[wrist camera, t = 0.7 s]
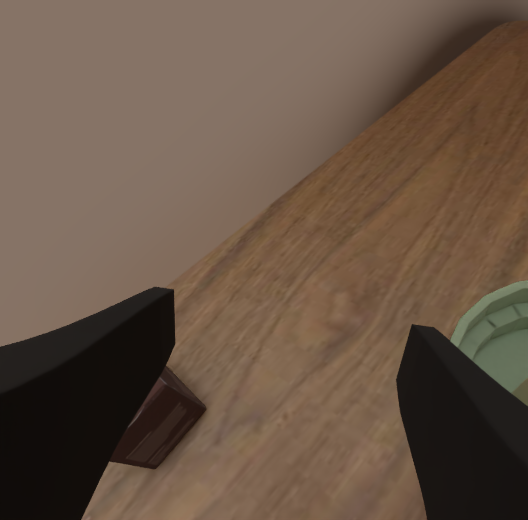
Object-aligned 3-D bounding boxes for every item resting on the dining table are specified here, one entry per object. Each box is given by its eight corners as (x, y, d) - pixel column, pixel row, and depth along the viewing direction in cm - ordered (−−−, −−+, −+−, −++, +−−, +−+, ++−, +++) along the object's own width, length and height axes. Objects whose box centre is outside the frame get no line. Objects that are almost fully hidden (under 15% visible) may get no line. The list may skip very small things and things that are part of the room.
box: (167, 364, 34) (122, 332, 28) (209, 409, 30) (168, 382, 24) (115, 419, 32) (56, 397, 26) (154, 473, 29) (96, 461, 23)
